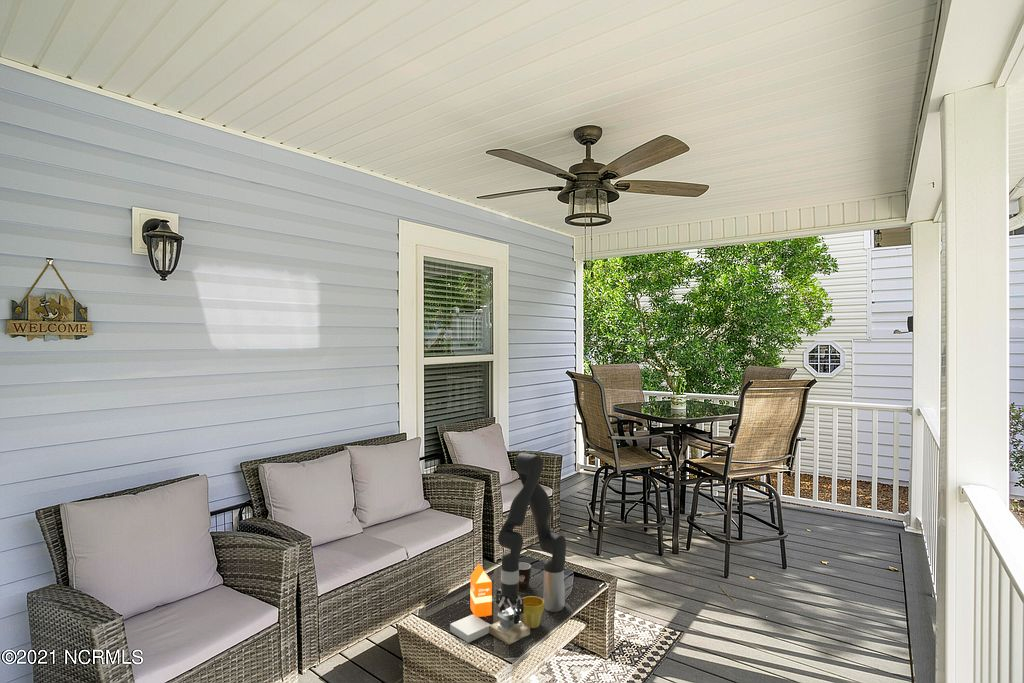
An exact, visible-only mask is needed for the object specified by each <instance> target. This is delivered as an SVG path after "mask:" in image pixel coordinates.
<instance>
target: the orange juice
mask: <svg viewBox="0 0 1024 683" xmlns="http://www.w3.org/2000/svg"><path fill="white" fill-rule="evenodd" d="M474 568H475V569H474V570H473V571H472V573H471V575H470V591H469V593H470V596H469V597H470V600H469V601H470V610H471V612H472V614H473V615H475V616H477V617H478V618H481V617H488V616H492V615H493V614H492V613H493V610H492V609H493V606H492V604H493V581H492V580H491V579H490V577H489V575H488V574H487V572H485V569H484V568H483V567H482V566H481V564H480V563H479V562H478V563H477V565H476V567H474Z"/></svg>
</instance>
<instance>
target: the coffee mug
mask: <svg viewBox="0 0 1024 683" xmlns="http://www.w3.org/2000/svg"><path fill="white" fill-rule="evenodd" d="M531 572H532V565H531V564H530V563H527V562H519V590H527V589H529V586H530V581H531V580H530V579H531Z"/></svg>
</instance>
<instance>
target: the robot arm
mask: <svg viewBox="0 0 1024 683" xmlns="http://www.w3.org/2000/svg"><path fill="white" fill-rule="evenodd" d="M514 462H515V470H516V473H517V475H518V477H519V480H520V481H521V482H520V483H521V484H522V488H521V490H519V492H518V493H517V494H516V495H515V497H514V498H513V499H512V501H511V504H510V508H509V511H508V515H507V518H506V520H505V522H504V524H503V526H502V527H501V529H500V531H499V533H498V536H497V538H498V539H497V542H498V544H499V545H500V546H501V547H503V548H506V549H510V550H509V551H510V552H505V553H503V555H502V556H501V572H500V588H498V589H496V594H495V604H496V605H498V607H499V612H501V611H503V610H505V609H506V606H505V605H507V606H509V608H510V607H511V609H512V610H513V612H514V614H515V615H514V624H518V623H519V621H521V619H520V618H521V615H522V614H523V613H524V605H523V598H524V597H521V598H519V597H518V593H519V592H520V589H519V563H520V562H519V561H520V560H519V559H520V556H521V552H522V548H523V546H524V537H523V535H522V534H521V533H520V532H519V531H515V530H514V529H515V528H516V527H522V526H523V525H524V523H525V519H526V516H527V511H528V507H529V508H530V511H531V515H532V517H533V520H534V524H535V528H536V532H537V537H538V543H539V546H540V548H541V550H542V551H543V552H545V553H546V554H550V555H551V558H548V559H547V560H545V561H544V562H543V568H542V569H543V584H542V585H543V588H542V589H543V591H542V592H543V593H542V595H543V596H542V599H543V600H544V610H545V611H548V612H552V613H553V612H555V613H557V612H560V611H563V610H564V607H565V606H566V585H565V583H564V582H565V581H564V580H565V579H564V578H565V573H564V572H565V563H566V557H567V555H566V553H567V542H566V538H565V535H562V534H561V533H560V534H559V533H558V532H557V533H556V532H553V531H552V530H551V528H550V525H549V520H550V517H551V515H552V512H553V511H552V510H553V509H552V504H551V500H550V497H549V495H548V493H547V492H546V490H545V489H544V488H543V486H542V485H540V483H539V479H540V477H541V475H542V472H543V468H544V460H543V458H542V456H541V455H537V454H531V453H525V452H520V453H519V454H518V455H517V456H516V458H515V461H514ZM514 606H515V607H514ZM516 609H517V611H516ZM520 609H521V611H520ZM499 612H498V613H499Z"/></svg>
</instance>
